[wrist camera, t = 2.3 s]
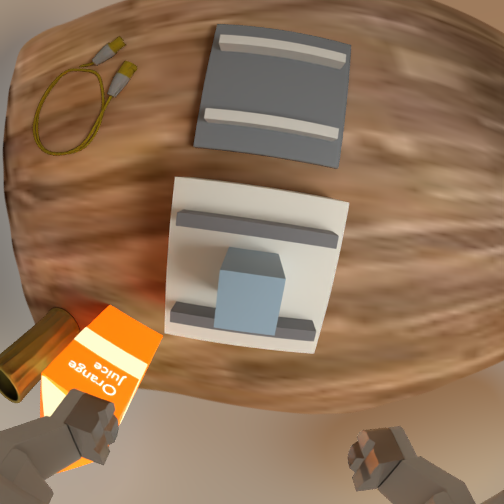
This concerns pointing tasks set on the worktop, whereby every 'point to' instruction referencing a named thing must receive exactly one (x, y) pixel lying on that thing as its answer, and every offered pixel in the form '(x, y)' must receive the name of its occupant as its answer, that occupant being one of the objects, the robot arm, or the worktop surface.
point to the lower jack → (275, 95)
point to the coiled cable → (114, 90)
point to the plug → (249, 291)
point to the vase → (35, 353)
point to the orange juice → (101, 364)
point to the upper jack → (252, 238)
